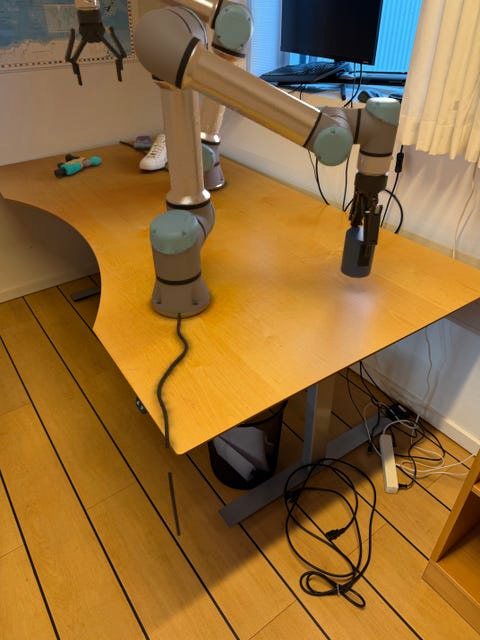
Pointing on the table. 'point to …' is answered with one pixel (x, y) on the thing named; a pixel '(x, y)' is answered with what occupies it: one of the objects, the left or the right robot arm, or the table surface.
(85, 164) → the toy gun
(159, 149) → the sneaker
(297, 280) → the table surface
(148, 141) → the toy gun
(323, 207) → the table surface
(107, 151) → the table surface
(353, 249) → the can
